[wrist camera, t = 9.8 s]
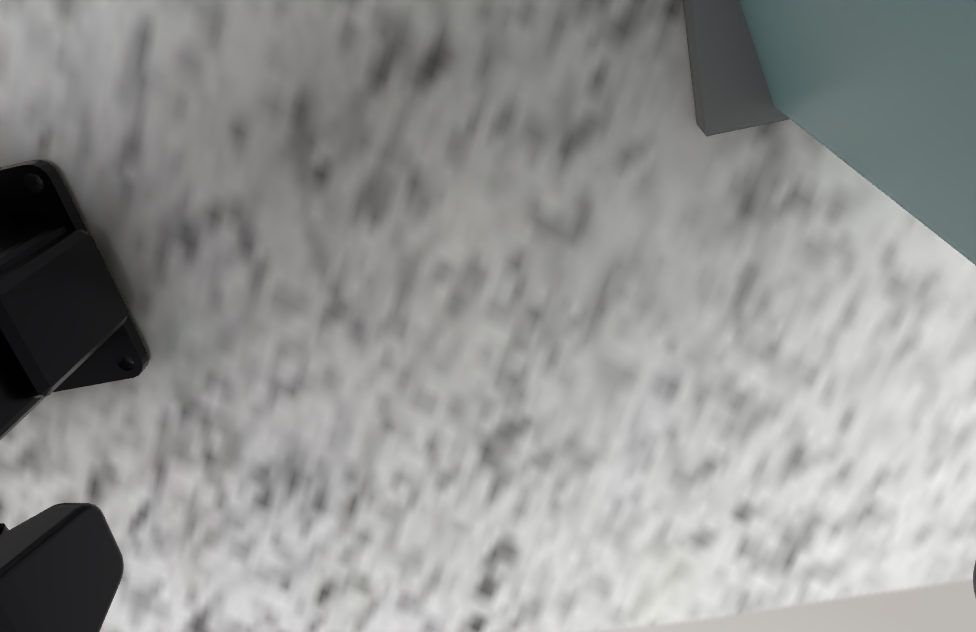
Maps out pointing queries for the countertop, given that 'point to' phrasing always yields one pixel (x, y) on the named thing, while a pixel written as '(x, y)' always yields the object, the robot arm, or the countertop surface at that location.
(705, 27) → the foam pad
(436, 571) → the countertop surface
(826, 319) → the countertop surface
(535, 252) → the countertop surface
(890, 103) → the module
